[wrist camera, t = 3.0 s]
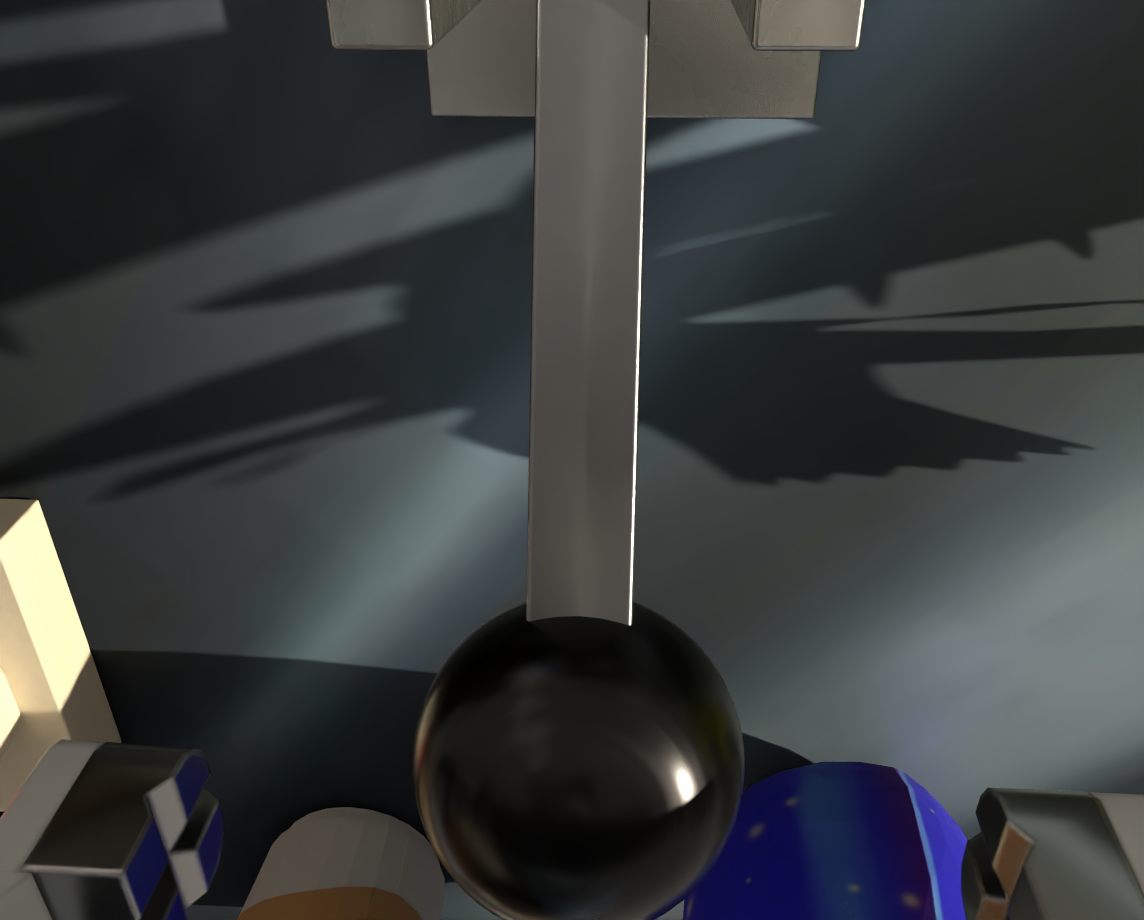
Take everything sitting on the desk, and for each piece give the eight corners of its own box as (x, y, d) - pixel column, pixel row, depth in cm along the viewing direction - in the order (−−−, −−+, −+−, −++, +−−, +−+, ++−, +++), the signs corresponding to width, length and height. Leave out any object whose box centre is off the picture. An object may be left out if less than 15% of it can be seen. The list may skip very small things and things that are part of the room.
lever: (723, 841, 13) (755, 1030, 9) (445, 827, 13) (374, 1007, 10) (769, -268, 11) (828, -547, 8) (453, -263, 12) (371, -531, 8)
